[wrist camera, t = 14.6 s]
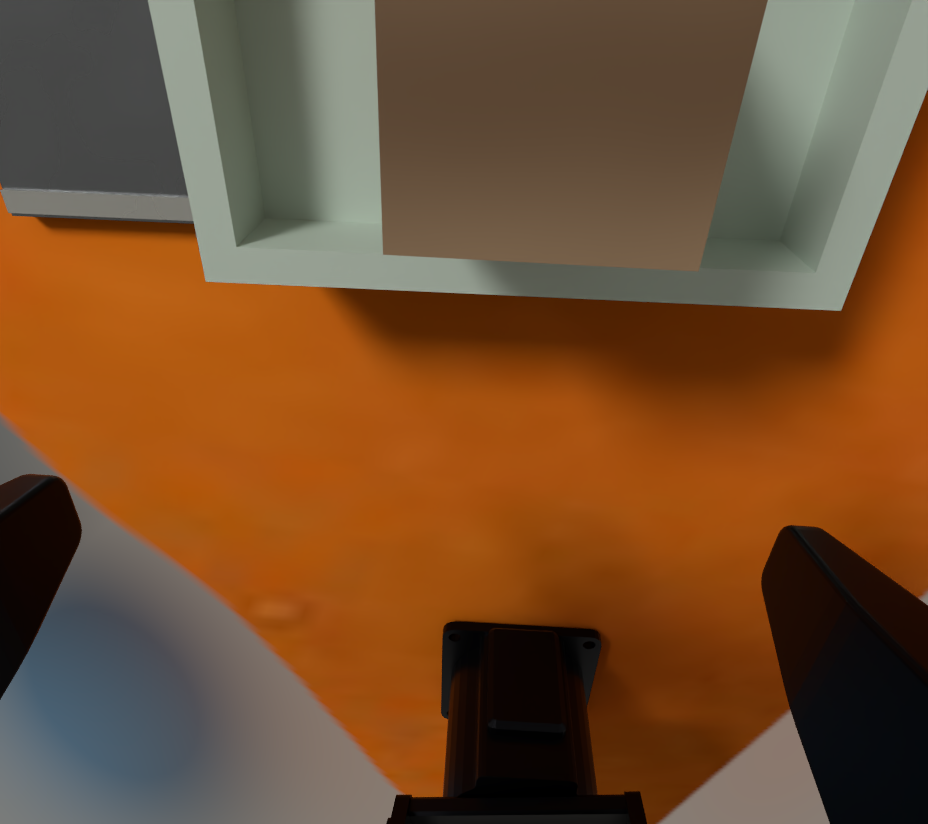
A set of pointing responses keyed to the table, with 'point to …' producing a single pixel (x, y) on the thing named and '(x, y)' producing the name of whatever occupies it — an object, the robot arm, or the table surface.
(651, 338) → the table surface
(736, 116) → the walnut block
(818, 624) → the robot arm
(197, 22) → the pale green tray
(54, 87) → the track
